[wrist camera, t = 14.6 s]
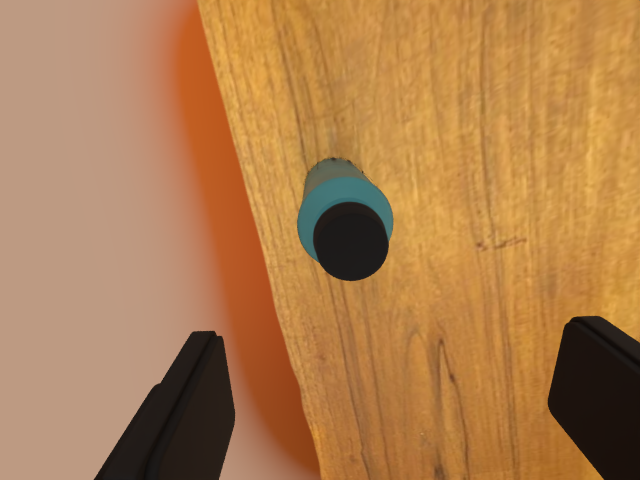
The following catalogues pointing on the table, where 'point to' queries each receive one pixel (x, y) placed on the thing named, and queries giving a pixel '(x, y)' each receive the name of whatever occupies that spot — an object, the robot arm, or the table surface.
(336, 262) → the beverage bottle
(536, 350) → the table surface
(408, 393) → the table surface
